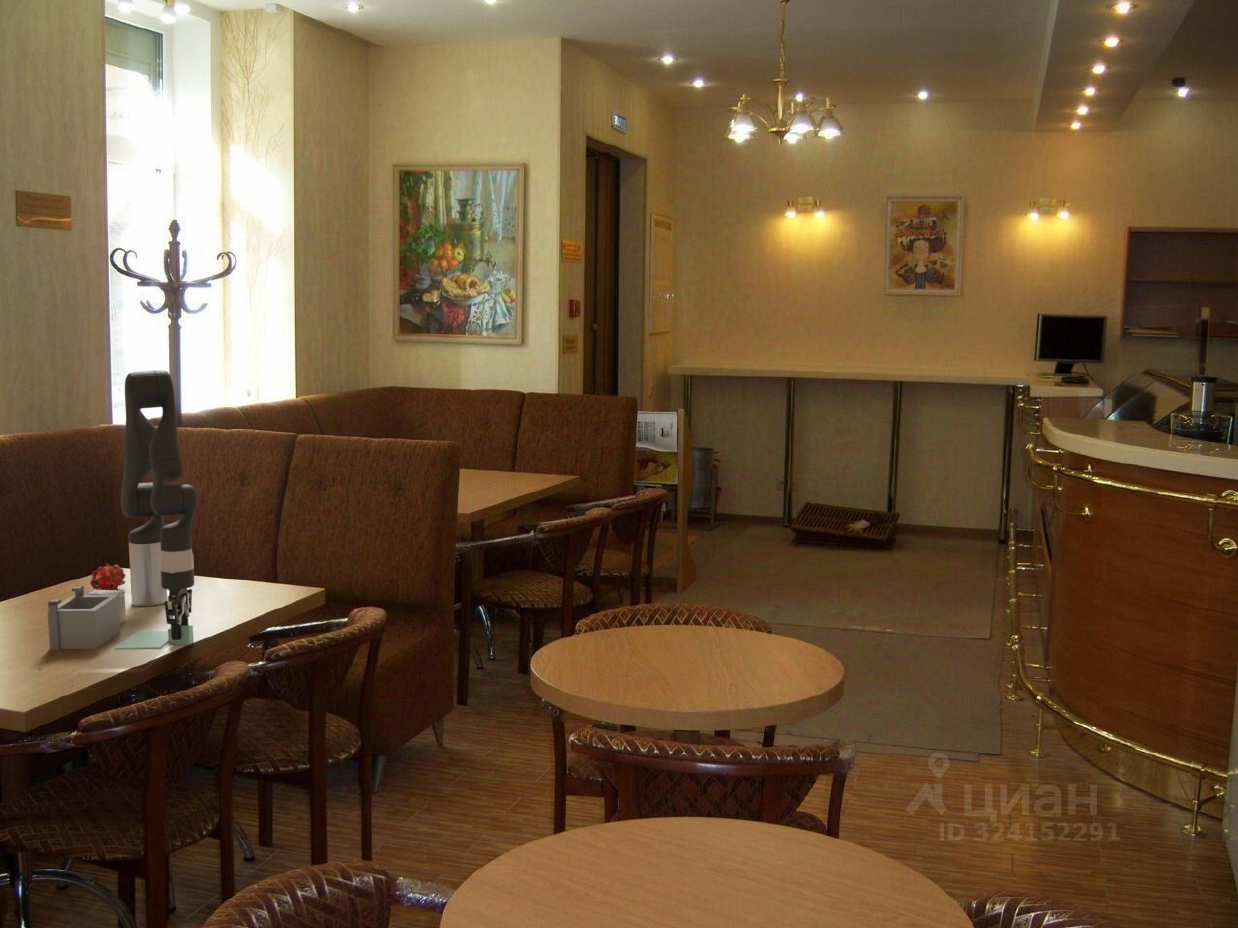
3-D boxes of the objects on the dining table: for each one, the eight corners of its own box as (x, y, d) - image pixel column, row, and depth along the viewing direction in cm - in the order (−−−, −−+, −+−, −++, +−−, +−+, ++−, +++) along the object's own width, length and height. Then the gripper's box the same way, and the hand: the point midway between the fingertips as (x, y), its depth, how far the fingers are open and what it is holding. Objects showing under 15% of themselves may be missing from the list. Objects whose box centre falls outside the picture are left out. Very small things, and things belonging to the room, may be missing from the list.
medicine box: (126, 623, 310) (125, 590, 309) (118, 627, 305) (116, 594, 304) (97, 622, 311) (96, 589, 309) (88, 626, 306) (86, 593, 305)
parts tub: (76, 633, 299) (73, 585, 297) (121, 633, 300) (119, 585, 298) (48, 653, 283) (45, 602, 281) (96, 652, 283) (93, 601, 282)
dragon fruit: (126, 592, 349) (98, 607, 338) (104, 574, 350) (75, 589, 339) (137, 571, 346) (109, 586, 335) (115, 553, 347) (86, 567, 336)
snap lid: (136, 636, 298) (135, 620, 298) (200, 634, 299) (199, 619, 298) (115, 652, 284) (114, 636, 283) (182, 651, 284) (181, 635, 284)
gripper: (170, 561, 296) (173, 628, 298) (151, 574, 282) (154, 644, 284) (201, 561, 296) (204, 628, 298) (183, 573, 282) (186, 644, 284)
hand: (180, 635), depth 291 cm, fingers open, 5 cm apart
